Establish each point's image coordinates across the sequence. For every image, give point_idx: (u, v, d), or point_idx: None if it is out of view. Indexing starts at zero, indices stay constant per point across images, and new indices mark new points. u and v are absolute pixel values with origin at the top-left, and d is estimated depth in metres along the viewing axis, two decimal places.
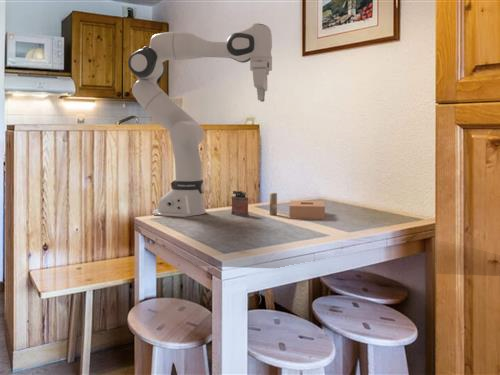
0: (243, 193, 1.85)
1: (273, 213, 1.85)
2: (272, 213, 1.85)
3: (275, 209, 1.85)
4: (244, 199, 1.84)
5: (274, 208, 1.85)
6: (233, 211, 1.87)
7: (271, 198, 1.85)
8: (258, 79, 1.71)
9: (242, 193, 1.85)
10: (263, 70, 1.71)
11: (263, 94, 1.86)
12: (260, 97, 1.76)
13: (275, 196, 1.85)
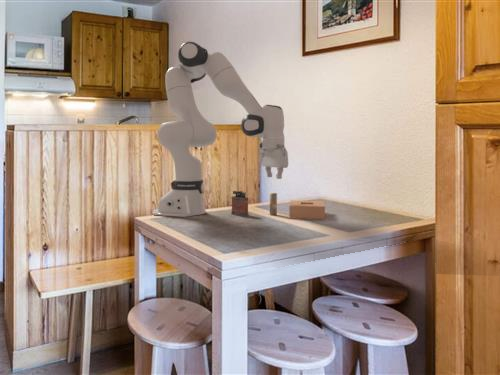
0: (243, 193, 1.85)
1: (273, 213, 1.85)
2: (272, 213, 1.85)
3: (275, 209, 1.85)
4: (244, 199, 1.84)
5: (274, 208, 1.85)
6: (233, 211, 1.87)
7: (271, 198, 1.85)
8: None
9: (242, 193, 1.85)
10: None
11: None
12: None
13: (275, 196, 1.85)
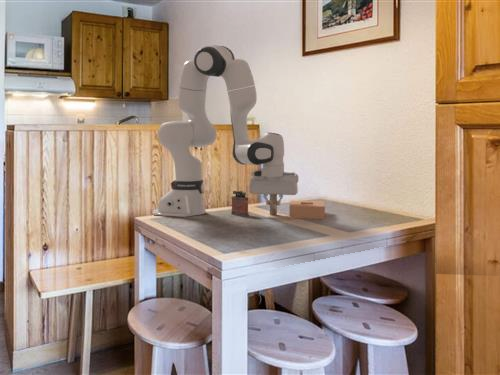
0: (243, 193, 1.85)
1: (273, 213, 1.85)
2: (272, 213, 1.85)
3: (275, 209, 1.85)
4: (244, 199, 1.84)
5: (274, 208, 1.85)
6: (233, 211, 1.87)
7: (271, 198, 1.85)
8: None
9: (242, 193, 1.85)
10: (250, 179, 1.85)
11: (280, 198, 1.85)
12: None
13: (275, 196, 1.85)
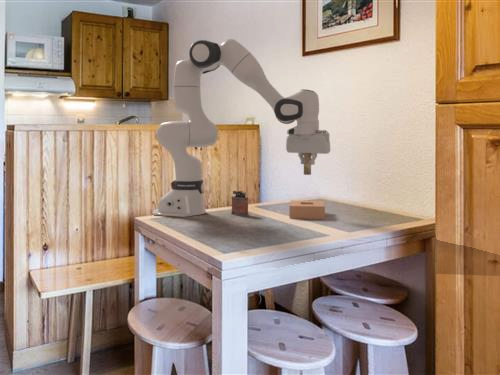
0: (243, 193, 1.85)
1: (305, 172, 1.81)
2: (305, 172, 1.82)
3: (308, 168, 1.81)
4: (244, 199, 1.84)
5: (307, 167, 1.81)
6: (233, 211, 1.87)
7: (304, 157, 1.81)
8: None
9: (242, 193, 1.85)
10: None
11: None
12: None
13: (308, 155, 1.80)
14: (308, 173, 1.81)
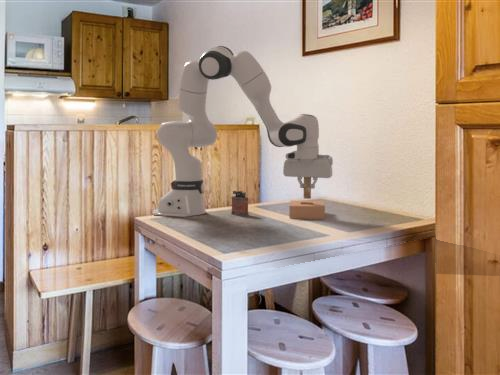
0: (243, 193, 1.85)
1: (306, 196, 1.82)
2: (305, 196, 1.82)
3: (309, 192, 1.82)
4: (244, 199, 1.84)
5: (308, 191, 1.82)
6: (233, 211, 1.87)
7: (305, 181, 1.82)
8: None
9: (242, 193, 1.85)
10: None
11: None
12: None
13: (309, 179, 1.81)
14: (309, 197, 1.82)
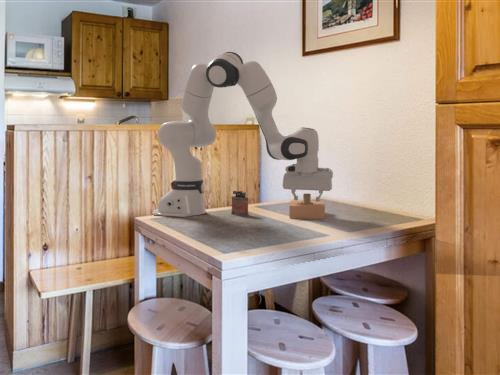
0: (243, 193, 1.85)
1: None
2: None
3: None
4: (244, 199, 1.84)
5: None
6: (233, 211, 1.87)
7: (305, 198, 1.83)
8: None
9: (242, 193, 1.85)
10: (284, 174, 1.84)
11: None
12: None
13: (309, 197, 1.83)
14: None
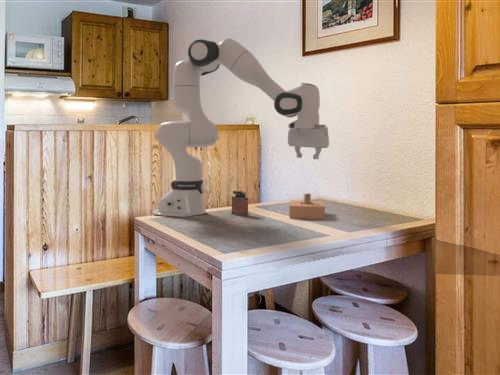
0: (243, 193, 1.85)
1: None
2: None
3: None
4: (244, 199, 1.84)
5: None
6: (233, 211, 1.87)
7: (305, 199, 1.83)
8: None
9: (242, 193, 1.85)
10: None
11: None
12: None
13: (309, 197, 1.83)
14: None
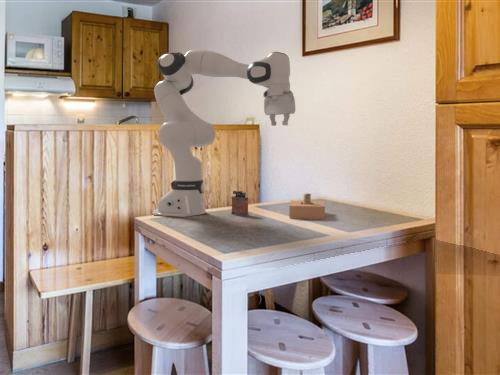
0: (243, 193, 1.85)
1: None
2: None
3: None
4: (244, 199, 1.84)
5: None
6: (233, 211, 1.87)
7: (305, 199, 1.83)
8: None
9: (242, 193, 1.85)
10: None
11: None
12: None
13: (309, 197, 1.83)
14: None
